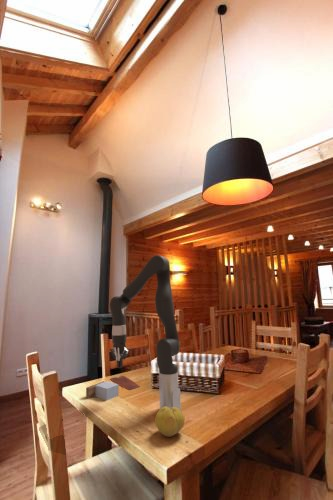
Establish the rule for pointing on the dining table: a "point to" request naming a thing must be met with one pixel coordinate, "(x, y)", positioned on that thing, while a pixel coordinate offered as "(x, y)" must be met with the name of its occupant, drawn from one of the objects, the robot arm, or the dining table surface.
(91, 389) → the walnut board
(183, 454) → the dining table surface
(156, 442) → the dining table surface
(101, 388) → the slate brick
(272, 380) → the dining table surface
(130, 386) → the wooden tablet
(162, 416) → the fruit
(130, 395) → the dining table surface
